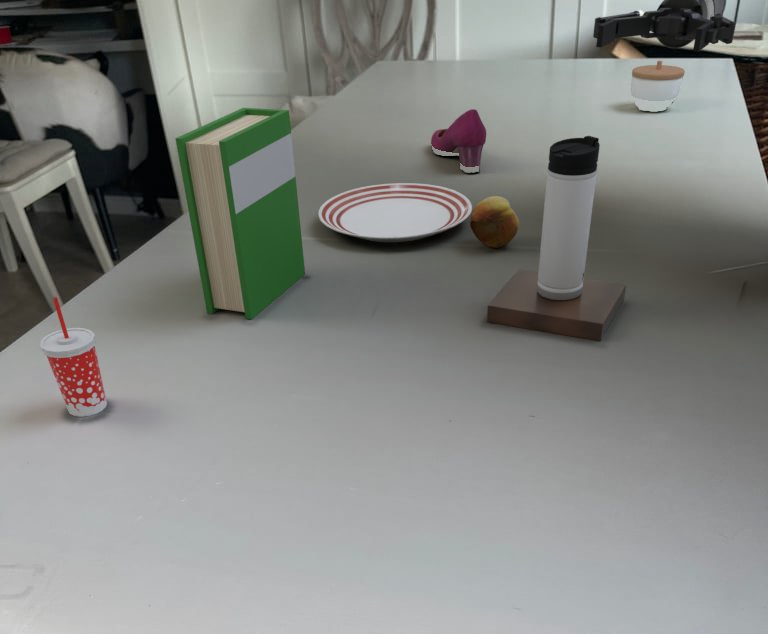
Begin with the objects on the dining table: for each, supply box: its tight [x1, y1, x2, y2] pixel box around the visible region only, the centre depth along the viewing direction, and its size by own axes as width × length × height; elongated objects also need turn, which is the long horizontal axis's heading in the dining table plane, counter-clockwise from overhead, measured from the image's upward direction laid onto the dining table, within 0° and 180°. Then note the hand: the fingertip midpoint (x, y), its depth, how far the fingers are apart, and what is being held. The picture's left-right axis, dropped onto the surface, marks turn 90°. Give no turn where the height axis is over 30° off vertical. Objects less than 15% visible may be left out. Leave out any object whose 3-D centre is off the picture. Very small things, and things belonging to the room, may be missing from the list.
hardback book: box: [174, 107, 306, 320], centre depth 116 cm, size 18×7×24 cm, turn 158°
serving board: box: [486, 268, 627, 342], centre depth 114 cm, size 16×14×2 cm
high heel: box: [430, 108, 487, 174], centre depth 174 cm, size 9×26×12 cm, turn 18°
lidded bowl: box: [630, 60, 686, 101], centre depth 204 cm, size 13×13×11 cm
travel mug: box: [537, 135, 601, 300], centre depth 108 cm, size 6×7×20 cm
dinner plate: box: [317, 182, 473, 243], centre depth 145 cm, size 28×27×3 cm
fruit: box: [469, 195, 520, 249], centre depth 133 cm, size 8×8×8 cm
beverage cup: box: [39, 296, 108, 418], centre depth 94 cm, size 6×6×14 cm
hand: (647, 38), depth 113 cm, fingers open, 13 cm apart
